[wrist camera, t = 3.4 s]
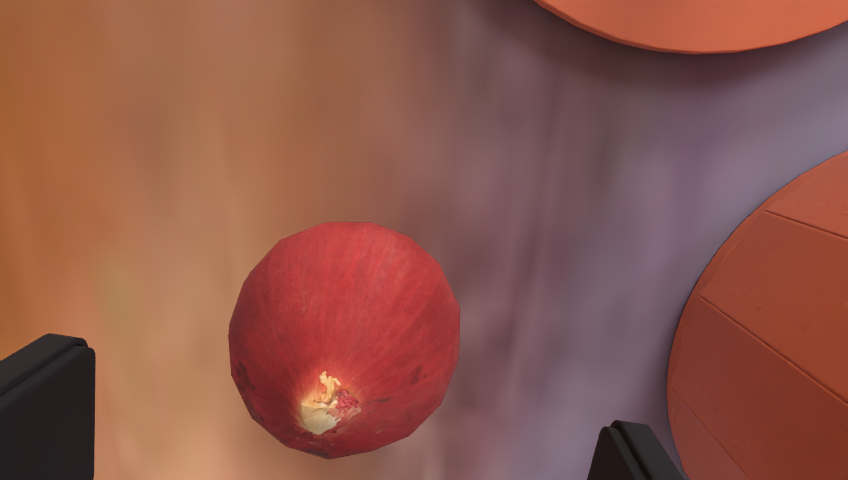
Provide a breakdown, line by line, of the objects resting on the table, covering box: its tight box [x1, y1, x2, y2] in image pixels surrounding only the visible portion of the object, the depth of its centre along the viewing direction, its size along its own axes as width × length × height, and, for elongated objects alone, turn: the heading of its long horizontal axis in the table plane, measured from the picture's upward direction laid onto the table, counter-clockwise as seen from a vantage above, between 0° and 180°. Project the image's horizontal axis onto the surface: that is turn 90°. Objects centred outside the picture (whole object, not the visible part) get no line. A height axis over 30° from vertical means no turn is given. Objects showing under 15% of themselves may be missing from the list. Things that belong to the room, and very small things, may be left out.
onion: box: [228, 222, 460, 459], centre depth 14 cm, size 6×6×8 cm
